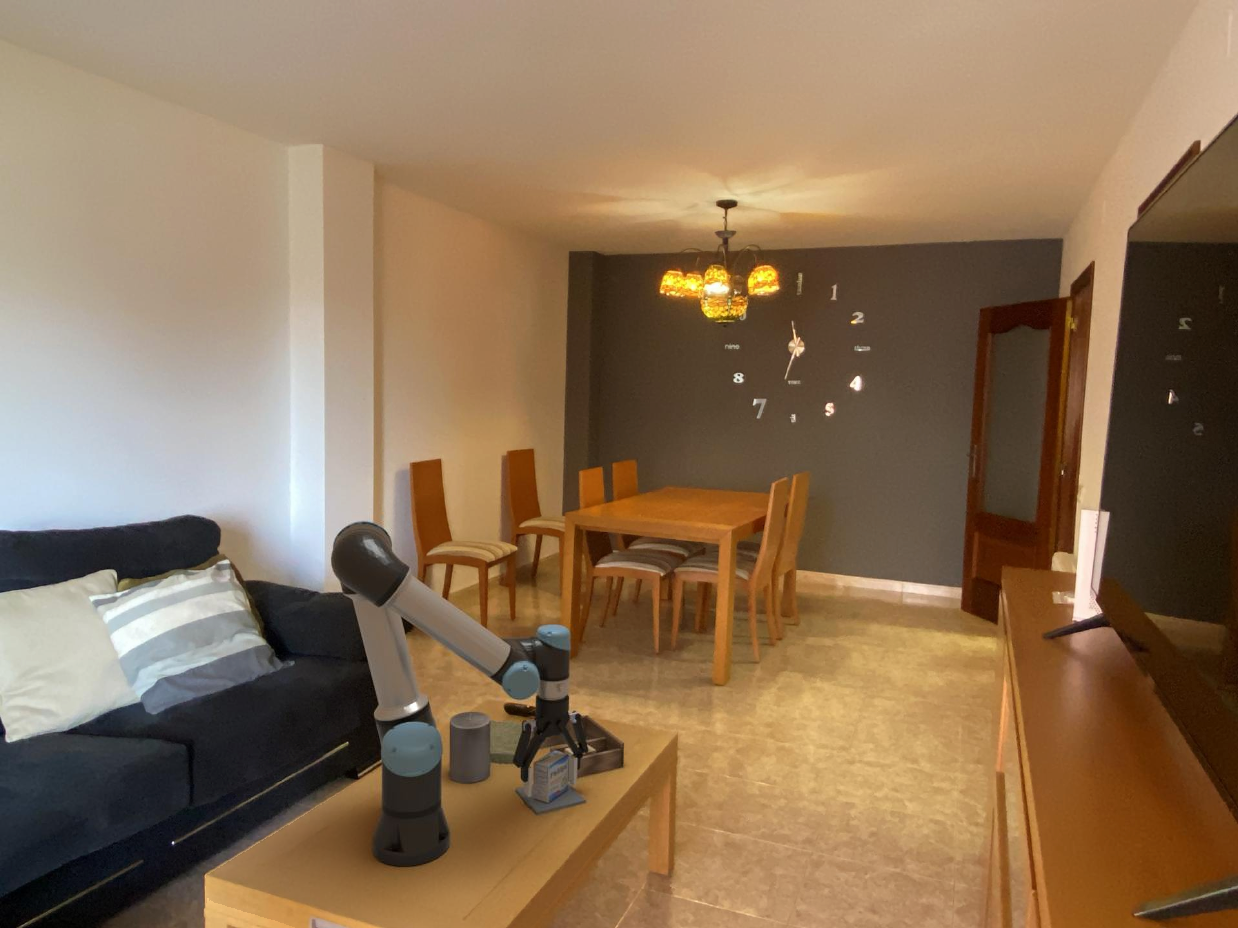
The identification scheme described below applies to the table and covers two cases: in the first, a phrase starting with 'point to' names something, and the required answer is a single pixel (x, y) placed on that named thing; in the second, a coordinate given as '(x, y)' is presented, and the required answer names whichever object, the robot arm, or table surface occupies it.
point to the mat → (561, 801)
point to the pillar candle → (469, 747)
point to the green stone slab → (504, 741)
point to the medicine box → (550, 776)
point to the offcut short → (590, 751)
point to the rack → (598, 739)
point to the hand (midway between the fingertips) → (550, 788)
